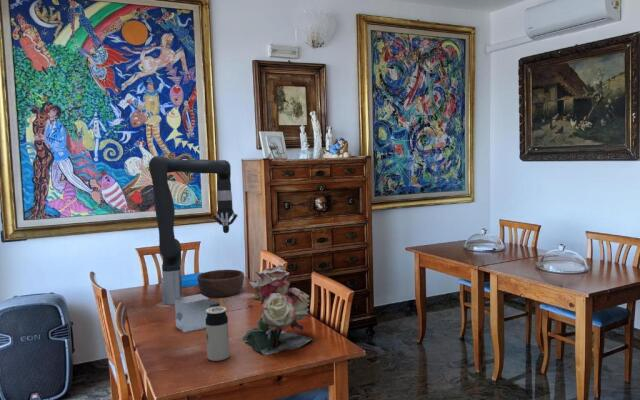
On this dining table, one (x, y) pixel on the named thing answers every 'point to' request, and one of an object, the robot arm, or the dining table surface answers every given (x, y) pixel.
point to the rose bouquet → (277, 313)
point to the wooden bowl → (221, 283)
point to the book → (189, 280)
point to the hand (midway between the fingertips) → (226, 232)
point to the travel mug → (217, 334)
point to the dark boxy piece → (212, 304)
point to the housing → (191, 312)
